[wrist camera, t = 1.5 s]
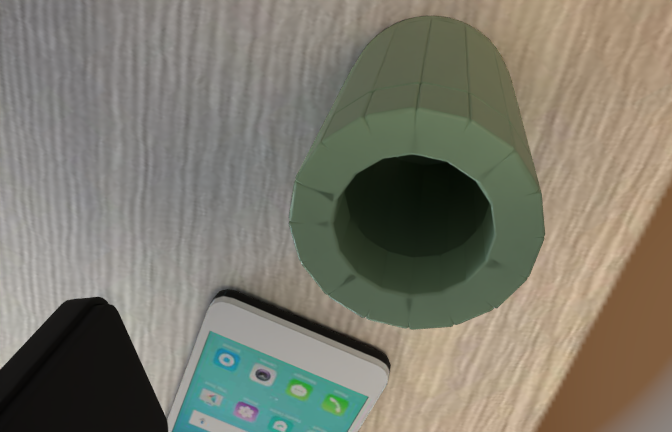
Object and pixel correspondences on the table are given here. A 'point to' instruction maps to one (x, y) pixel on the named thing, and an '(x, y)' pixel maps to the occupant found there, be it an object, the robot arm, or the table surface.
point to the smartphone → (274, 374)
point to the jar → (420, 182)
